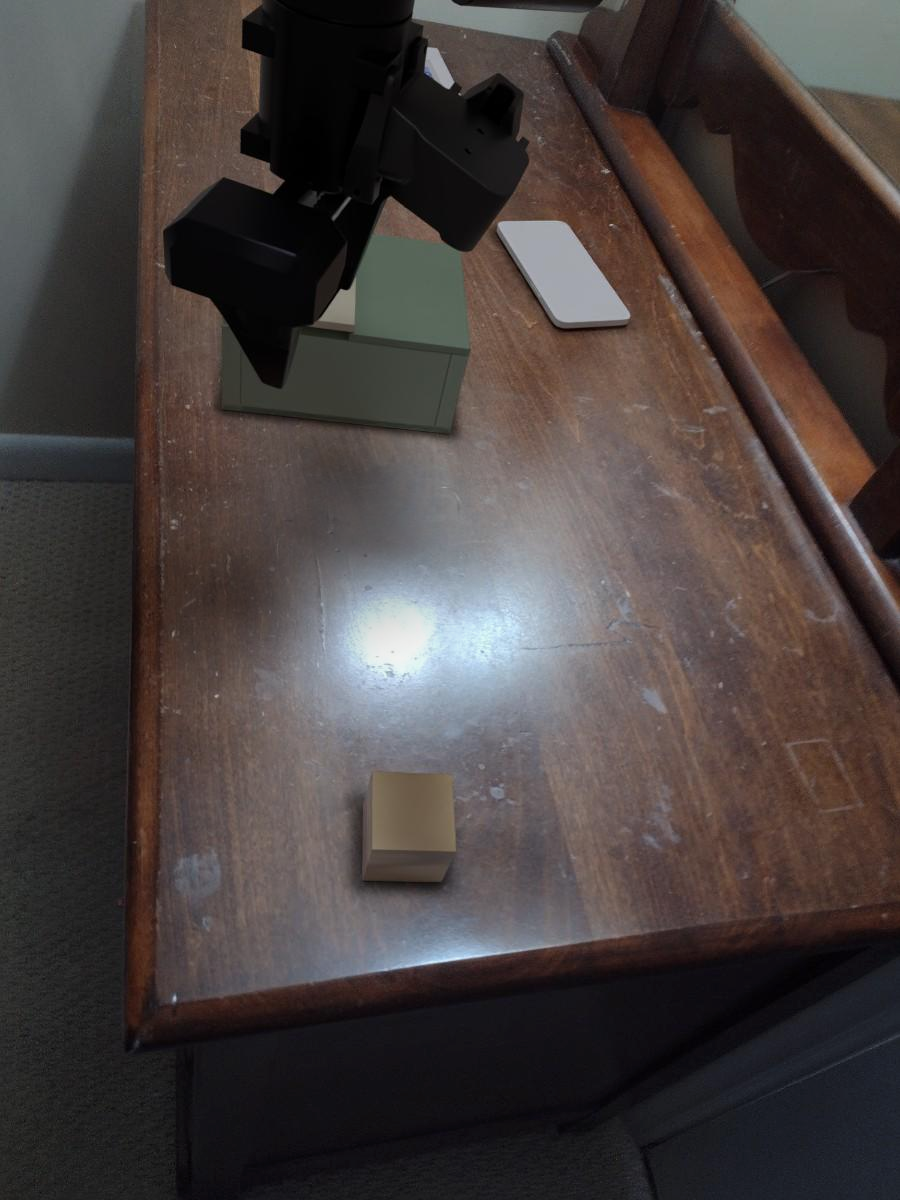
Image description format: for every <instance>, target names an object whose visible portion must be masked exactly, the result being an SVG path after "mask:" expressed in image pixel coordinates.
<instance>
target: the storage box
mask: <svg viewBox="0 0 900 1200" xmlns="http://www.w3.org/2000/svg"><path fill="white" fill-rule="evenodd" d="M471 349H472V348H471V337H470V327H469V317H468V306H467V296H466V286H465V276H464V265H463V255H462V252H461V251H458V250H456V249H454V248H452V247H450V246H449V245H447V244H446V243H444V242H443V243H441V242H436V241H428V240H422V239H416V238H415V239H414V238H408V237H402V236H394V235H389V234H381V233H375V232H373V235H372V237H371V240H370V242H369V245H368V247H367V250H366V252H365V255H364V257H363V260H362V262H361V265H360V267H359V269H358V272H357V274H356V303H355V329H354V332H348V331H340V330H332V329H324V328H316V327H308V326H304V327H302V329H301V332H300V336H299V340H298V343H297V347H296V351H295V354H294V358H293V362H292V365H291V368H290V371H289V375H288V378H287V381H286V384H285V385H284V387H283V388H282V389H277V388H274V387H271V386H268V385H266V384H264V383H262V382H261V380H260V379H259V377H258V375H257V374H256V372H255V370H254V368H253V367H252V365H251V363H250V362H249V360H248V358H247V356H246V355H245V353H244V351H243V350H242V348H241V346H240V344H239V343H238V341H237V339H236V337H235V336H234V334H233V332H232V331H231V329H230V328H229V326H228V324H227V322H226V321H225V319H224V318H223V317H222V321H221V403H222V404H221V406H222V407H221V408H222V410H225V411H235V412H244V413H245V412H246V413H254V414H262V415H263V414H264V415H272V416H284V417H290V418H291V417H292V418H300V419H310V420H318V421H327V422H337V423H347V424H353V425H354V424H355V425H362V426H363V425H365V426H374V427H383V428H391V429H392V428H393V429H401V430H411V431H419V432H429V433H437V434H448V435H449V434H450V433H451V430H452V429H451V428H452V426H453V425H452V424H453V421H454V416H455V414H456V413H455V412H456V409H457V406H458V402H459V401H458V400H459V397H460V393H461V389H462V385H463V381H464V377H465V374H466V369H467V365H468V361H469V356H470V353H471Z"/></svg>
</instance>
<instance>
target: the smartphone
mask: <svg viewBox="0 0 900 1200" xmlns="http://www.w3.org/2000/svg"><path fill="white" fill-rule="evenodd" d="M496 233H497V235H498V237H499V239H500V240H501V242H502V243H503V245H504V246H505V248H506V249H507V251H508V253H509V254H510V256H511V258H512V260H513V261H514V263H515V265H516V266H517V268H518V269H519V270H520V273H521V274H522V275H523V277H524V279H525V280H526V282H527V284H528V285H529V287H530V288H531V290H532V291H533V294H535V297H536V298H537V299H538V301H539V303H540V304H541V306H542V307H543V309H544V311H545V313H546V314H547V316H548V317H549V319H550V320H551V323H553V325H555V326H556V327H558V328H561V329H580V328H597V327H598V328H599V327H615V326H617V327H618V326H625V325H627V324H628V323H629V321H630V319H631V312H630V311H629V309H628V308H627V307H626V305H625V304H624V302H623V301H622V300H621V298H620V296H619V295H618V294H617V292H616V291H615V290H614V288H613V287H612V285H611V284H610V283H609V281H608V279H607V278H606V277H605V275H604V274H603V272H602V271H601V270H600V268H599V266H598V265H597V264H596V263H595V261H594V259H593V258H592V257H591V255H590V254H589V252H588V251H587V250H586V248H585V247H584V245H583V244H582V242H581V241H580V239H579V238H578V237H577V236H576V234H575V232H574V231H573V229H572V228H571V227H570V225H569V224H568V223H566V222H564V221H563V220H503V221H499V222H498V223H497V227H496Z"/></svg>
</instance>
